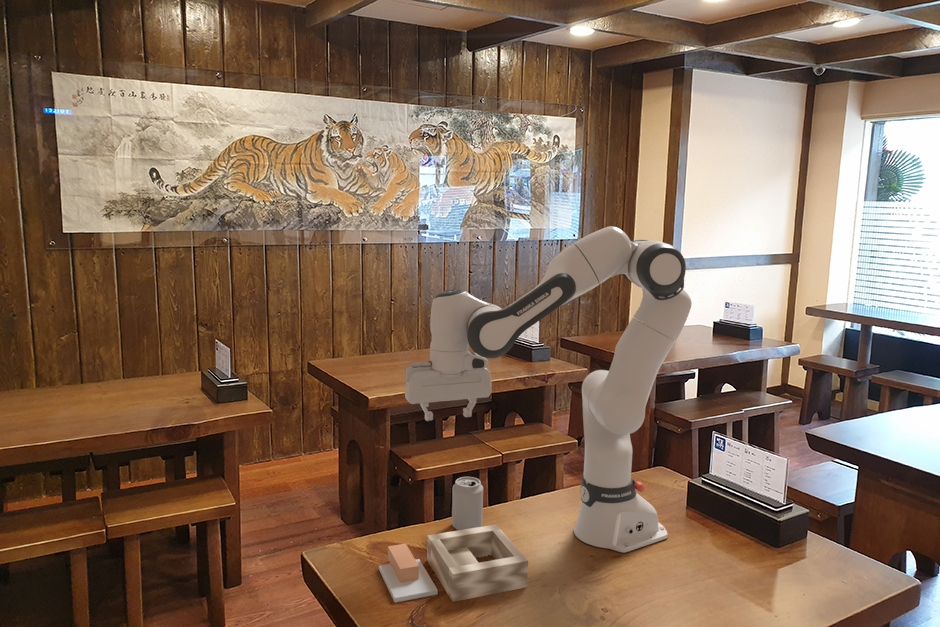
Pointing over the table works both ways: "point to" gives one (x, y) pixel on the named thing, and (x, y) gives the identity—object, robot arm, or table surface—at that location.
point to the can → (467, 503)
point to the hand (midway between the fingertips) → (448, 418)
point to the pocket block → (476, 562)
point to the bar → (403, 562)
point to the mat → (408, 584)
